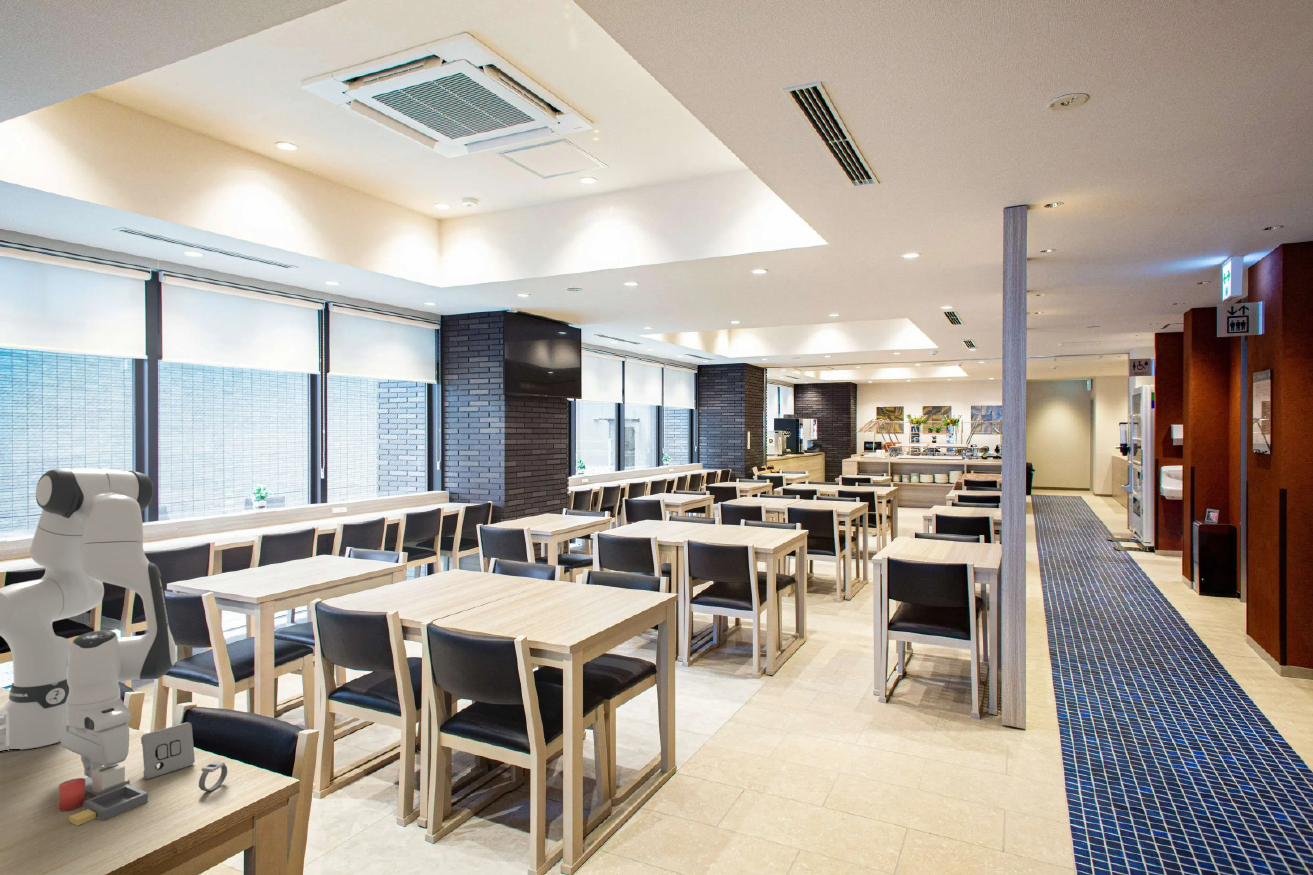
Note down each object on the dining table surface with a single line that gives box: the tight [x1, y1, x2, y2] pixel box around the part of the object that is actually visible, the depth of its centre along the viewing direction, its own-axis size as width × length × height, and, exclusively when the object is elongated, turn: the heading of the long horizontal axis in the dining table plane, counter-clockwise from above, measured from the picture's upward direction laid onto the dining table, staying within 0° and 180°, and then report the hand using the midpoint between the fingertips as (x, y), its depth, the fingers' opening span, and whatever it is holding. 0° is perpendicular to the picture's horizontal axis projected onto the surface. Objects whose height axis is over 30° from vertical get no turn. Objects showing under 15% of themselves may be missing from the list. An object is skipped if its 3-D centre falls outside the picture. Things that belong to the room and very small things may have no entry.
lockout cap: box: [58, 777, 86, 812], centre depth 136 cm, size 4×4×4 cm
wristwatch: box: [198, 760, 228, 792], centre depth 142 cm, size 6×3×5 cm, turn 170°
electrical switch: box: [140, 722, 196, 780], centre depth 151 cm, size 9×5×9 cm, turn 141°
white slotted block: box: [92, 763, 126, 794], centre depth 141 cm, size 4×4×5 cm
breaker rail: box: [84, 776, 131, 799], centre depth 142 cm, size 13×5×2 cm, turn 63°
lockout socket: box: [68, 784, 149, 826], centre depth 134 cm, size 8×11×2 cm
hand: (92, 775), depth 144 cm, fingers closed
